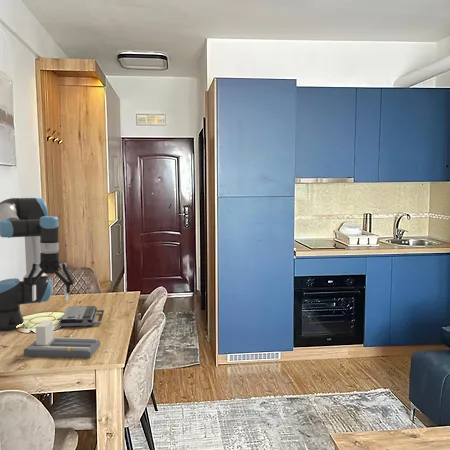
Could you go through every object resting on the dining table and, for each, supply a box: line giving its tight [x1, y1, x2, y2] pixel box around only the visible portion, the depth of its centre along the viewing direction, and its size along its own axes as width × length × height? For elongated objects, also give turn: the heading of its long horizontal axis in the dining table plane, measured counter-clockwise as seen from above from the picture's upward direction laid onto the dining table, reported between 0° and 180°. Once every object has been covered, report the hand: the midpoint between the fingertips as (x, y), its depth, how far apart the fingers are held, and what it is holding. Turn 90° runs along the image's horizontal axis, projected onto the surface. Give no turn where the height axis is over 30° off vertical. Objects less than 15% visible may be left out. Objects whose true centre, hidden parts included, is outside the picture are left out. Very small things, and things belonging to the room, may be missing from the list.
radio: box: [59, 305, 105, 329], centre depth 239 cm, size 24×5×20 cm
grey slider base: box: [23, 336, 101, 359], centre depth 197 cm, size 28×14×4 cm, turn 89°
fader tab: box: [34, 320, 55, 346], centre depth 196 cm, size 6×8×9 cm
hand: (50, 300), depth 198 cm, fingers open, 13 cm apart
